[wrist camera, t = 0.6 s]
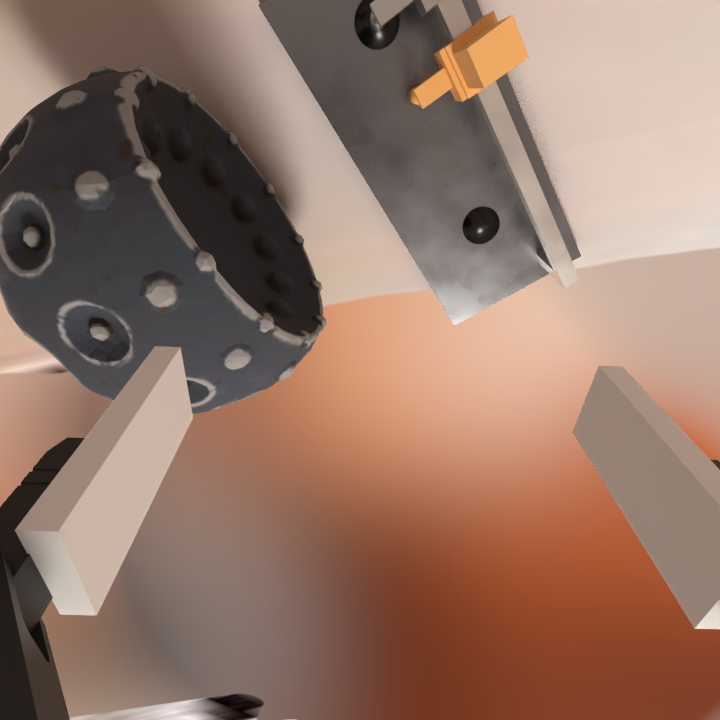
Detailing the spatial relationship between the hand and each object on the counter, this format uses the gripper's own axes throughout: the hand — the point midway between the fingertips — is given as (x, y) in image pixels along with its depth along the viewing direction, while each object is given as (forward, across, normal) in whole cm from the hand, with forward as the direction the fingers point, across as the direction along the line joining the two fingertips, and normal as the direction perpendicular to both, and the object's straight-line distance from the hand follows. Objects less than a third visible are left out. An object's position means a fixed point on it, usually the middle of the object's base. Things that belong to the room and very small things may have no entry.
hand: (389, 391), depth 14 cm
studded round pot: (+26, -12, -2) cm, 29 cm away
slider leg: (+25, +5, +9) cm, 27 cm away
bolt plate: (+26, +5, +5) cm, 27 cm away
